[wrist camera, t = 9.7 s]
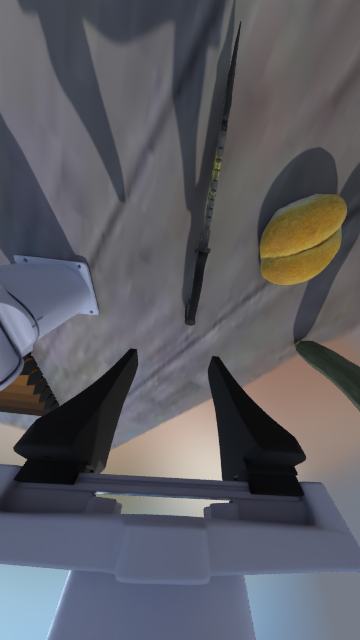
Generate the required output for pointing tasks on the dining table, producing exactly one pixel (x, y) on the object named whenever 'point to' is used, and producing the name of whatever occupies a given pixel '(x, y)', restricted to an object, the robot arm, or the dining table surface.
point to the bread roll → (302, 239)
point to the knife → (211, 196)
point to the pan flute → (28, 392)
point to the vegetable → (333, 368)
